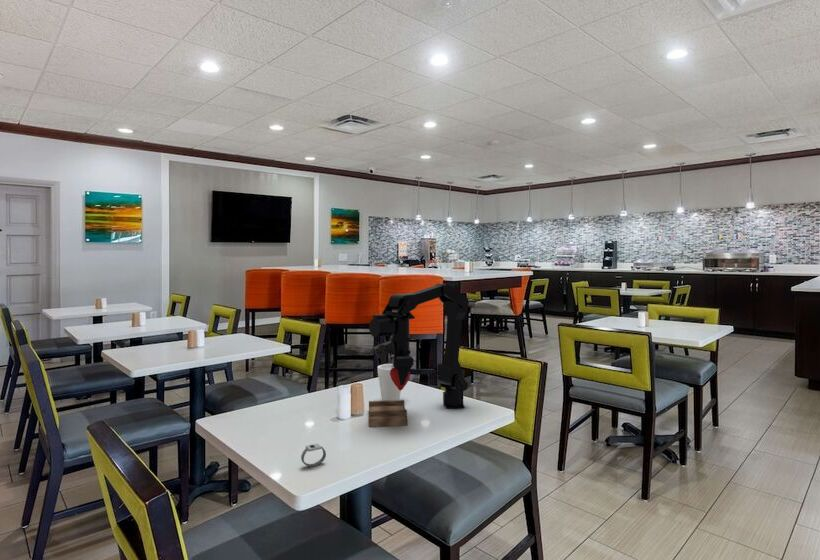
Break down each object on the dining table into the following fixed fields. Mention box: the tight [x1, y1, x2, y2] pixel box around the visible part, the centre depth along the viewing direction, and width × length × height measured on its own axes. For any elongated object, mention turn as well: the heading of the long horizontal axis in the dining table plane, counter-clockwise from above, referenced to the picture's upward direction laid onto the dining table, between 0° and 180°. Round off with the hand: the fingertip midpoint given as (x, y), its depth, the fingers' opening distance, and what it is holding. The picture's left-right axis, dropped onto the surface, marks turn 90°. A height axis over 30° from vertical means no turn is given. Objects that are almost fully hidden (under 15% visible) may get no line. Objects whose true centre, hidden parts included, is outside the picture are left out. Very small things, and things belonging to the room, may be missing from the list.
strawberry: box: [390, 366, 411, 391], centre depth 151 cm, size 6×8×10 cm
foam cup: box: [377, 363, 402, 401], centre depth 172 cm, size 10×9×13 cm
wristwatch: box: [300, 443, 327, 468], centre depth 119 cm, size 6×3×5 cm, turn 121°
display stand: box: [368, 399, 408, 428], centre depth 155 cm, size 12×16×4 cm
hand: (400, 382), depth 152 cm, fingers closed on strawberry, 7 cm apart
